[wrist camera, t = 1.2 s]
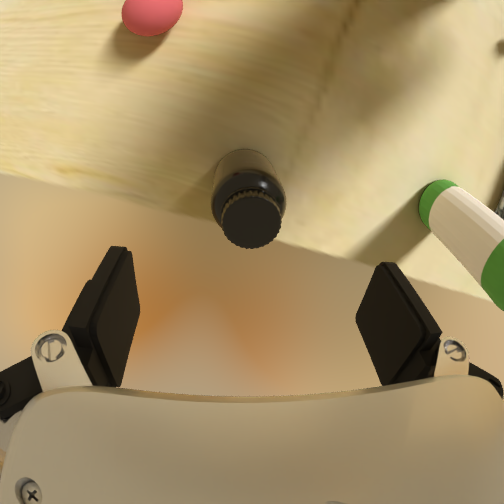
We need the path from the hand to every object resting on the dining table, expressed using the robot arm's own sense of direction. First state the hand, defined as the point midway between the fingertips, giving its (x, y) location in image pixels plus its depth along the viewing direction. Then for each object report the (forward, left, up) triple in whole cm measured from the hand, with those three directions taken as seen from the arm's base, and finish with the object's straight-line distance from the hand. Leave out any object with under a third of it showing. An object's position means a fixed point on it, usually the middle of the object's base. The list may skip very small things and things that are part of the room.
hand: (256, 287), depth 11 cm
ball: (-3, -18, -21) cm, 28 cm away
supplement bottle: (+2, +3, -24) cm, 25 cm away
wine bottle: (-18, +22, -24) cm, 38 cm away
